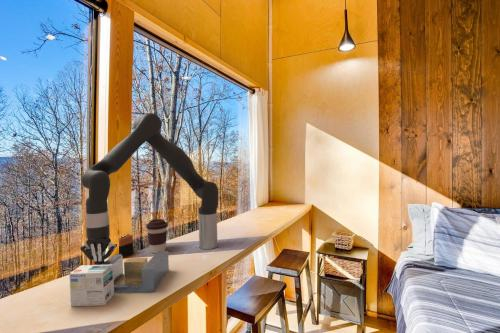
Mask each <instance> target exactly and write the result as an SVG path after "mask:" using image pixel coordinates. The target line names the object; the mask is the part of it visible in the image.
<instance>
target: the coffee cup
mask: <svg viewBox="0 0 500 333" xmlns="http://www.w3.org/2000/svg"><path fill="white" fill-rule="evenodd" d="M168 226H169V224H168V221H165V220H164V219H161V218H157V219H156V218H155V219H151V220H149V222H148V223H147V224H146V226H145V227H146V229H147V239H148V241H147V242H148V244H149V252H150V254H151V253H152V254H156V253H157V252H158V251H167V250H166V248H167V236H168V234H167V233H168V229H167V228H168Z"/></svg>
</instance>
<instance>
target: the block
mask: <svg viewBox="0 0 500 333" xmlns="http://www.w3.org/2000/svg"><path fill="white" fill-rule="evenodd" d="M147 263H148V257H129V258H127V259H126V260H125V261H124V262H123V275H124V284H142V272H141V269H142V268H143V267H144V266H145V265H146V264H147Z"/></svg>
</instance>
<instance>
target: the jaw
mask: <svg viewBox="0 0 500 333" xmlns="http://www.w3.org/2000/svg"><path fill="white" fill-rule="evenodd" d="M123 258H124V257H123V256H122V254H115V253H114V254H113V255H112V256H109V257H108V258H107V259H105V260H104V261H105V262H104V263H102V264H101V265H106V264H113V278H114V283H115V282H116V281H117V280H118V279H119V278H120V277H121V276H122V275H124V262H123V260H124V259H123Z"/></svg>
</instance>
